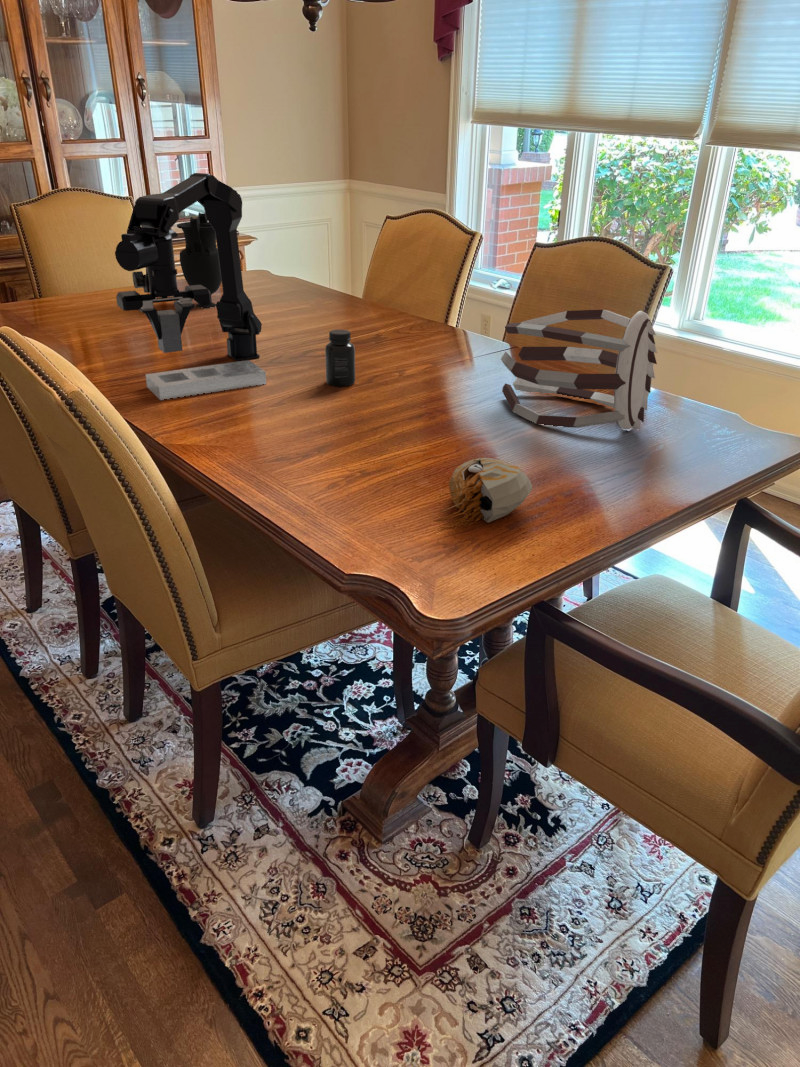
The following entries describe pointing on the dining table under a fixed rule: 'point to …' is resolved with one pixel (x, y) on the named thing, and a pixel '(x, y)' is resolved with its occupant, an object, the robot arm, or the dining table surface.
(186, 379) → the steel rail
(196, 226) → the urn
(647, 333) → the decorative basket
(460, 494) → the nautilus
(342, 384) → the supplement bottle
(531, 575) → the dining table surface
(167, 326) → the graphite block
